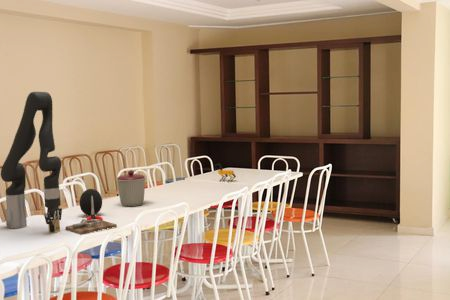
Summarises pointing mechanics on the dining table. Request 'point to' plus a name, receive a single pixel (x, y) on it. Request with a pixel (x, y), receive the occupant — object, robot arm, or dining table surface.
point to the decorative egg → (86, 201)
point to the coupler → (55, 226)
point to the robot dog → (225, 173)
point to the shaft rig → (90, 226)
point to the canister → (131, 189)
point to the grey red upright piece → (93, 212)
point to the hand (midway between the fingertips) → (54, 230)
